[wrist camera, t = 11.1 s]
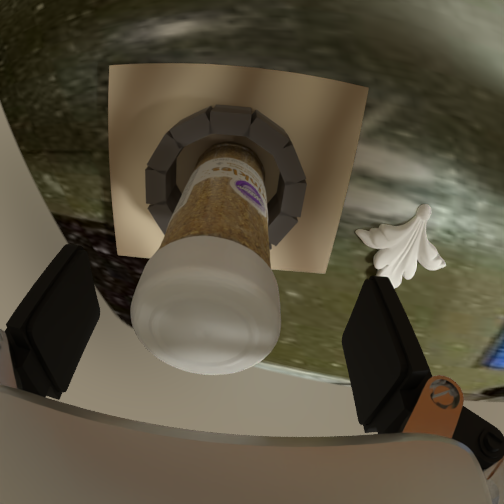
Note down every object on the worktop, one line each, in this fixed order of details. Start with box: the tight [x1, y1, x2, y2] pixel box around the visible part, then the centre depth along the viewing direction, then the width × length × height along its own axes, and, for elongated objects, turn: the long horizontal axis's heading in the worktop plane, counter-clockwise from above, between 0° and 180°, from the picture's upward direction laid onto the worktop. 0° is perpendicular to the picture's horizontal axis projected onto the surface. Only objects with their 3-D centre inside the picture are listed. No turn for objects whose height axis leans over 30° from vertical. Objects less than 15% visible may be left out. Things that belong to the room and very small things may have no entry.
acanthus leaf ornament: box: [355, 204, 446, 288], centre depth 25 cm, size 8×7×2 cm
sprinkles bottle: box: [131, 142, 281, 375], centre depth 15 cm, size 5×5×14 cm
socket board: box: [108, 63, 369, 274], centre depth 20 cm, size 16×14×4 cm
